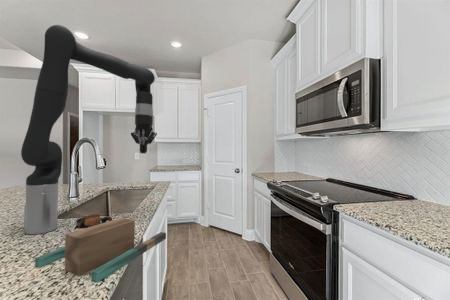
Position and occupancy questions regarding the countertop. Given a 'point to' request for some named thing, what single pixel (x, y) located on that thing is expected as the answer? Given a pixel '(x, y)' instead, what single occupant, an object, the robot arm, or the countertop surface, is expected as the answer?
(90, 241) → the walnut block
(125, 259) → the lane
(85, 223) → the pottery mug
